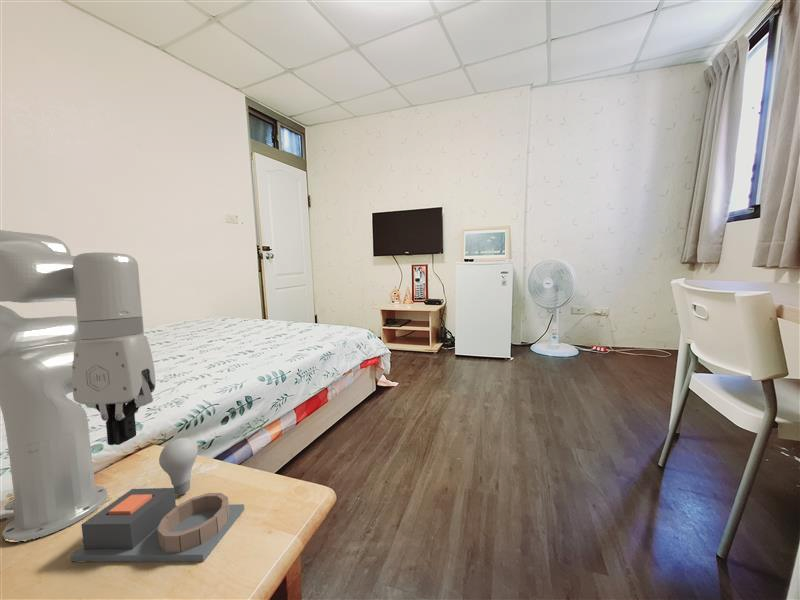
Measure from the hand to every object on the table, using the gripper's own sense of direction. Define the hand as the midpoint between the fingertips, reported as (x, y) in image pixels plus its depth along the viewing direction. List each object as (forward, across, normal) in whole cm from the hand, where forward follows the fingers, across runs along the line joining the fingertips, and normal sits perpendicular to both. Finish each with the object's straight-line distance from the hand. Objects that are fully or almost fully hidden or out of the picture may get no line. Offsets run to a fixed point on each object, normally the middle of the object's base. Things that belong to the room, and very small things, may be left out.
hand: (122, 440), depth 48 cm
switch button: (+14, +1, 0) cm, 15 cm away
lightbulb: (+16, +1, +9) cm, 19 cm away
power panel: (+16, +6, 0) cm, 17 cm away
